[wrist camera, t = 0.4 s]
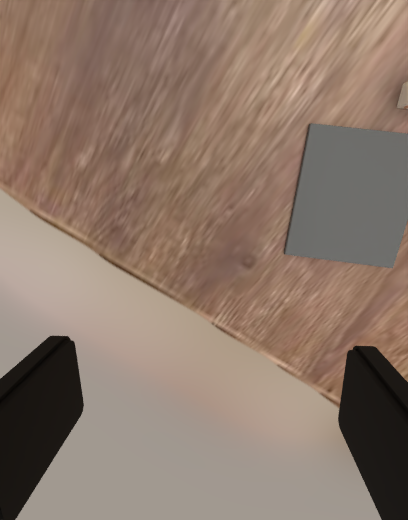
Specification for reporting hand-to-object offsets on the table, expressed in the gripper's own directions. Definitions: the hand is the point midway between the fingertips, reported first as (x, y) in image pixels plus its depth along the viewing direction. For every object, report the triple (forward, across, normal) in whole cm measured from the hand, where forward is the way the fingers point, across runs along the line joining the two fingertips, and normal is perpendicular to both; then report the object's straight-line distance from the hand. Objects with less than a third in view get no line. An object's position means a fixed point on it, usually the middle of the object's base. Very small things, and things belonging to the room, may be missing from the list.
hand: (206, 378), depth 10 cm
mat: (+30, -16, -4) cm, 34 cm away
